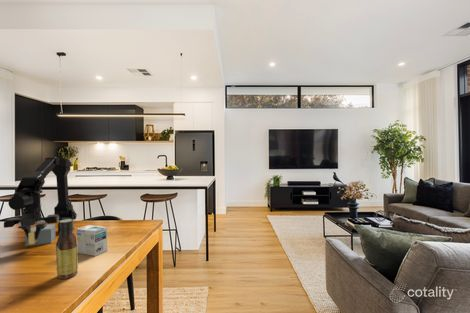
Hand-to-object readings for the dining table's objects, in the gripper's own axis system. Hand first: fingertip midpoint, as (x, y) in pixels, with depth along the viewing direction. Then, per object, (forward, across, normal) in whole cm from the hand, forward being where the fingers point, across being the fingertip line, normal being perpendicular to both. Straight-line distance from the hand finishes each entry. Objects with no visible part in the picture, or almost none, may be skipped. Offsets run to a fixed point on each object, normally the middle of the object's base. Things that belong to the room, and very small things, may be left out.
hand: (33, 239), depth 115 cm
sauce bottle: (+5, +18, -33) cm, 38 cm away
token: (+1, 0, 0) cm, 1 cm away
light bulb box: (+5, +24, -12) cm, 28 cm away
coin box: (+5, 0, +12) cm, 13 cm away
